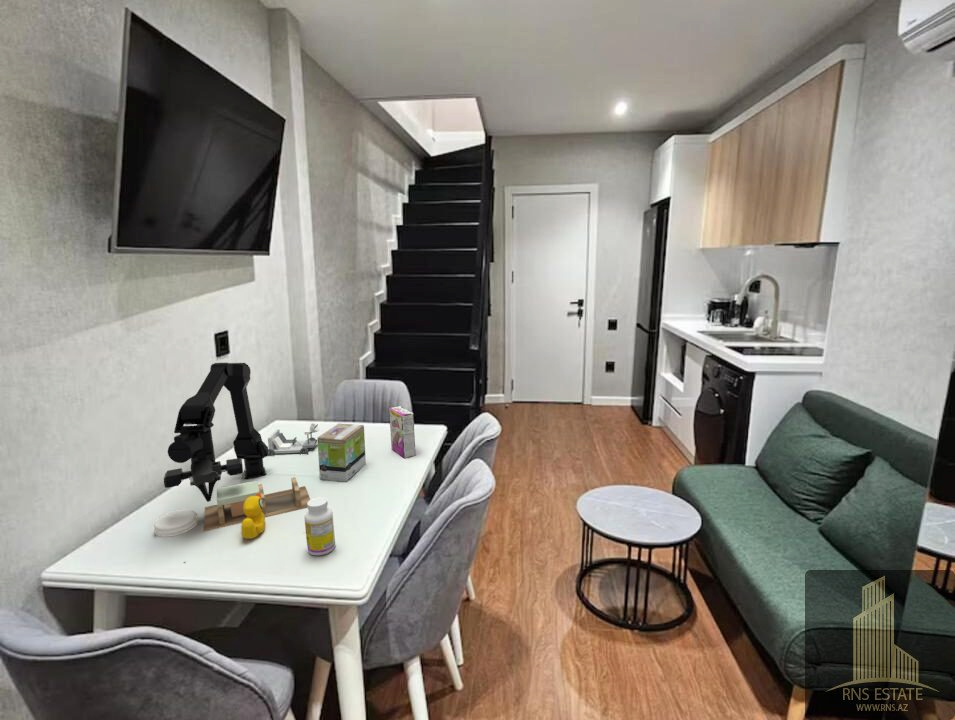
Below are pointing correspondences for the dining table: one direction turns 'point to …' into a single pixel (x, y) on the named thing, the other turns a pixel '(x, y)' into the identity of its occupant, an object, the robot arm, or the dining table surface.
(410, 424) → the candy bar box
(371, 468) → the dining table surface
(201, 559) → the dining table surface
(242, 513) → the block
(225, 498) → the cover
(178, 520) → the coaster
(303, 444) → the toy car
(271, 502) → the wooden slotted rack
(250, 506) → the duckling
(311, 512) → the supplement bottle
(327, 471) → the tea box
